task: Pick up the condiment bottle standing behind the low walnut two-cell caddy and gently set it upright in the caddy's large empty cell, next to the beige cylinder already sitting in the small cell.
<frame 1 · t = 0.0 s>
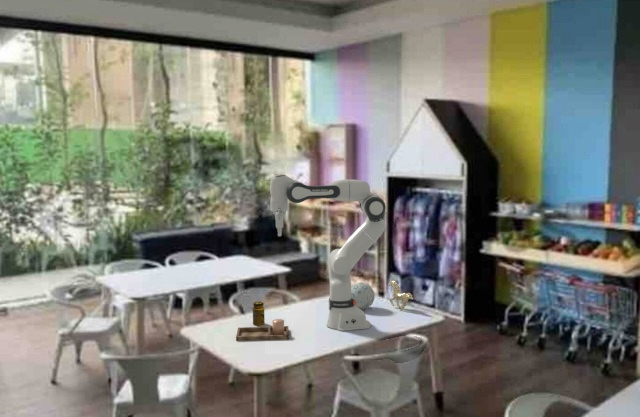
hand: (279, 234, 289), 48 cm above the table, fingers open, 8 cm apart
caddy: (263, 336, 280), on the table
condiment: (257, 325, 297), on the table
puzzle ball: (361, 309, 326), on the table
unicorn: (400, 309, 325), on the table
beige cylinder: (278, 334, 281), point 1 cm above the table, touching caddy
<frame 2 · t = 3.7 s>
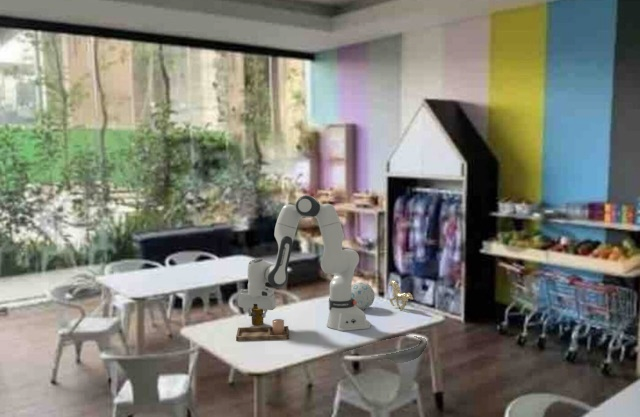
hand: (257, 316, 297), 5 cm above the table, fingers closed on condiment, 6 cm apart
condiment: (256, 325, 298), on the table, touching gripper
everything else where it was.
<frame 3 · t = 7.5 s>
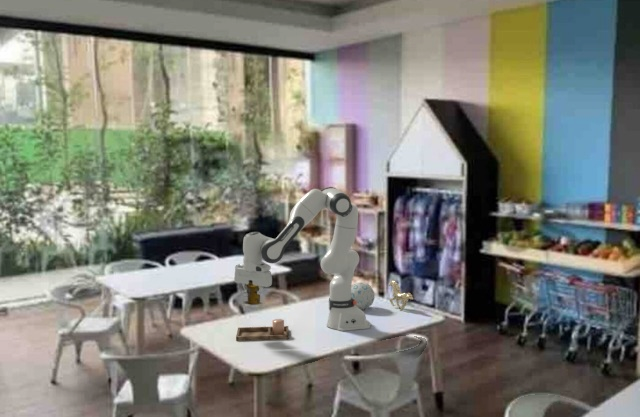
hand: (253, 293, 279), 21 cm above the table, fingers closed on condiment, 6 cm apart
condiment: (252, 303, 279), point 16 cm above the table, touching gripper
everything else where it was.
when the fingers open (6 cm above the table, at t = 11.0 s): condiment stays where it is, resting on caddy.
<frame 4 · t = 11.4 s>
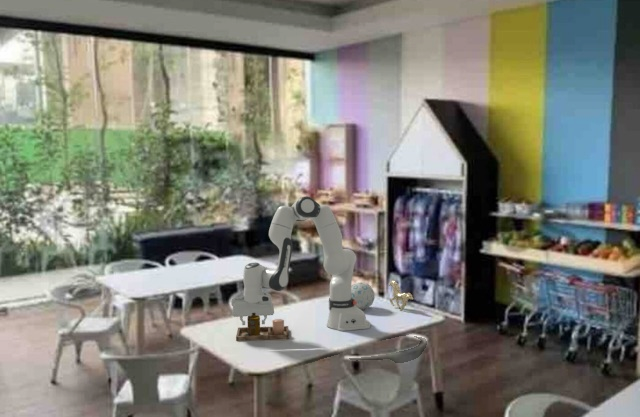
hand: (253, 324, 279), 6 cm above the table, fingers open, 8 cm apart
condiment: (252, 335, 280), resting on caddy
everything else where it was.
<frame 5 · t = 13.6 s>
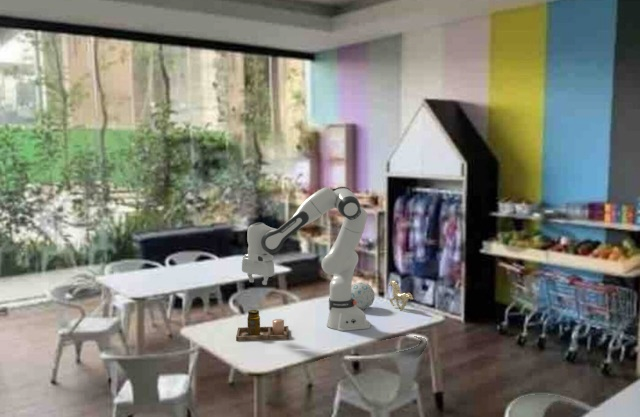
hand: (258, 283, 283), 25 cm above the table, fingers open, 8 cm apart
nothing on the table moved.
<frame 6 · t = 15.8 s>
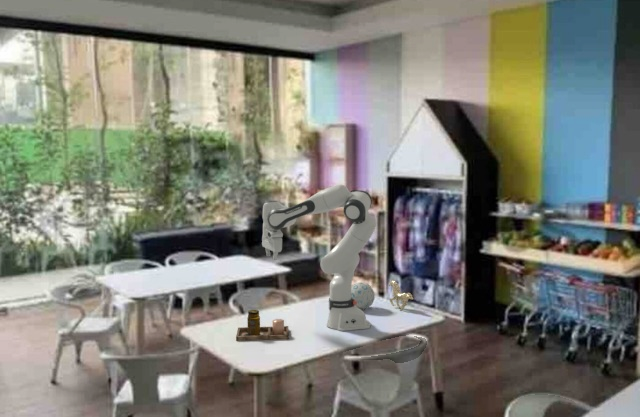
hand: (271, 258, 300), 34 cm above the table, fingers open, 8 cm apart
nothing on the table moved.
at the end: condiment inside the target area on the caddy (0.5 cm from its centre), point 0.4 cm above the caddy's base; condiment tilted 0°; the gripper is holding nothing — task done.
